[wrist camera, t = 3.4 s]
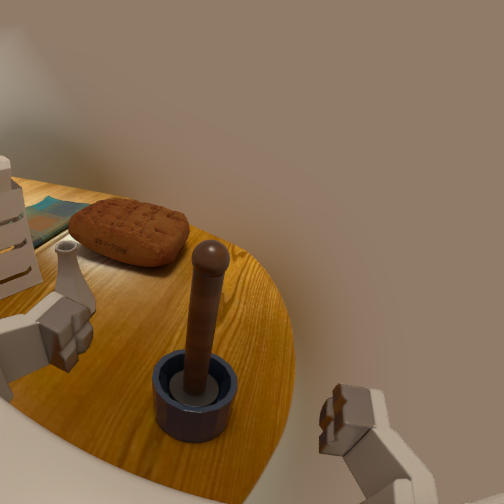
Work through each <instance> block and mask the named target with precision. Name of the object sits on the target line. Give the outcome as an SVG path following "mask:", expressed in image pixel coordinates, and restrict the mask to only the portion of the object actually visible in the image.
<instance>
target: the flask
mask: <svg viewBox="0 0 504 504" xmlns="http://www.w3.org/2000/svg"><path fill="white" fill-rule="evenodd" d="M77 245H78V244H77V243H76V242H73V241H61V242H59V243H58V244H56V247H55V252H56V253H57V255H58V275H57V281H56V287H55V291H56V292H58V293H59V294H61V295H63V296H66V297H68V298H70V299H72V300H74V301H76V302H78V303H80V304H83V305H85V306H87V307H88V308H90V309H91V314H92V313H93V312H94V311H95V297H94V295H93V294H92V292H91V290H90V288H89V286H88V285H87V283H86V281H85V279H84V277H83V275H82V273H81V270H80V268H79V265H78V261H77V257H76V251H77Z"/></svg>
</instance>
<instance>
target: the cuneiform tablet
mask: <svg viewBox="0 0 504 504" xmlns="http://www.w3.org/2000/svg"><path fill="white" fill-rule="evenodd" d="M68 230H69V233H70V235H71V236H72V238H74V239H75V240H76V241H78V242H79V243H81V244H82V245H83V246H85V247H87V248H89V249H91V250H93V251H95V252H97V253H100V254H102V255H105V256H107V257H109V258H112V259H115V260H117V261H121V262H124V263H128V264H132V265H138V266H144V267H155V266H161V265H165V264H169V263H171V262H172V261H173V260H174V259H175V258H176V257H177V254H178V253H179V251H180V250H181V248H183V246H184V244H185V243H186V240H187V238H188V235H189V223H188V221H187V218H186V217H185V215H184V214H183V213H181V212H177V211H172V210H169V209H167V208H164V207H162V206H160V207H159V206H157V205H154V204H150V203H140V202H138V201H137V200H128V199H121V198H111V199H107V200H100V201H97V202H96V203H93V204H91V205H89V206H87V207H85V208H83V209H82V210H80V211H78V212H77V213H75V214H74V215H72V216H71V218H70V220H69V226H68Z"/></svg>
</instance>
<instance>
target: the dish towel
mask: <svg viewBox="0 0 504 504" xmlns="http://www.w3.org/2000/svg"><path fill="white" fill-rule="evenodd" d="M89 205H90V204H87V203H75V202H70V201H62V200H58V199H55V198H52V197H50V196H47V197H46V198H45V199H44V200H43V201H41V202H39V203H37V204H35V205H32V206H29V207H26V208H25V209H26V215H27V220H28V225H29V230H30V234H31V239H32V243H33V247H34V248H36V247H37V246H39V245H41V244H42V243H44V242H45V241H47V240H48V239H50V238H51V237H53V236H54V235H56V234H57V233H59V232H60V231H62V230H64V229H65V228H67V227H68V226H69V220H70V218H71V216H72V215H74V214H75V213H77V212H78V211H80V210H82V209H83V208H85V207H87V206H89ZM21 214H22V215H23V212H22V213H21ZM23 216H24V215H23ZM19 218H21V219H22V217H21V216H20V215H19ZM10 223H12V220H11V221H10V222H9V223H8V224H10ZM25 239H26V238H25ZM26 241H27V239H26ZM25 243H26V242H25V241H24V244H25Z"/></svg>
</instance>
